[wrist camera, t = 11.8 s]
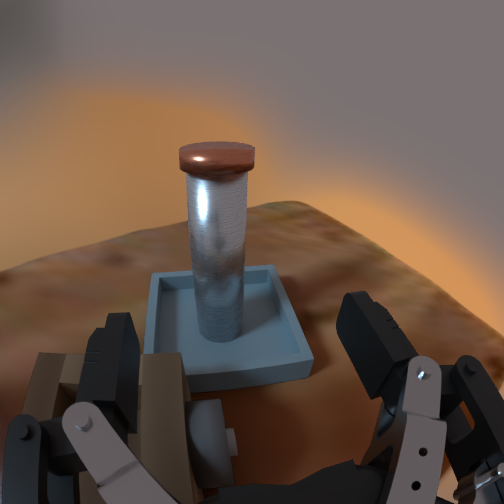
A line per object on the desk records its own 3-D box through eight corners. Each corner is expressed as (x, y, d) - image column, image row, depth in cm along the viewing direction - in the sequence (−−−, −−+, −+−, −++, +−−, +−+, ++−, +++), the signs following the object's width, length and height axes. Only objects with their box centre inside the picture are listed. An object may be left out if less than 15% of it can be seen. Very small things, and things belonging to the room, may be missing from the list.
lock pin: (194, 348, 23) (177, 157, 16) (192, 310, 27) (180, 143, 20) (252, 342, 24) (262, 154, 16) (242, 306, 28) (247, 141, 20)
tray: (149, 394, 20) (141, 377, 19) (155, 292, 30) (152, 273, 29) (308, 377, 22) (314, 358, 21) (271, 283, 33) (273, 264, 31)
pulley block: (61, 512, 10) (9, 488, 7) (72, 399, 18) (39, 352, 15) (249, 521, 12) (253, 511, 9) (224, 397, 20) (222, 348, 17)
